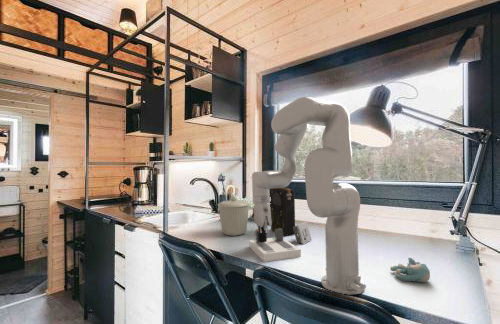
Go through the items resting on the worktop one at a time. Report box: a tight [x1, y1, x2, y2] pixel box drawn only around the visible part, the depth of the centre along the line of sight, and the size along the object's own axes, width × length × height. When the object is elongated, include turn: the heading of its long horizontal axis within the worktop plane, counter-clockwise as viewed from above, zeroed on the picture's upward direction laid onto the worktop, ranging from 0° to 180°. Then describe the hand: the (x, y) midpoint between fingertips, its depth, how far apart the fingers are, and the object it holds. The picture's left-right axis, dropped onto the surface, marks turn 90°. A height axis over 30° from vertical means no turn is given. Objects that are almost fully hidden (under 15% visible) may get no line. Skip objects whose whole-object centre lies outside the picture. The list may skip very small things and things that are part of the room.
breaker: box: [274, 228, 284, 241], centre depth 119 cm, size 2×3×5 cm, turn 107°
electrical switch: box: [293, 221, 312, 245], centre depth 128 cm, size 9×5×9 cm, turn 141°
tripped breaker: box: [255, 228, 259, 242], centre depth 117 cm, size 2×3×6 cm, turn 107°
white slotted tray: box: [248, 237, 302, 263], centre depth 114 cm, size 20×16×3 cm
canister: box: [217, 195, 251, 237], centre depth 145 cm, size 18×18×21 cm
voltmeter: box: [269, 187, 296, 237], centre depth 145 cm, size 16×9×25 cm, turn 25°
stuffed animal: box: [389, 257, 431, 283], centre depth 85 cm, size 11×7×12 cm
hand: (262, 241), depth 113 cm, fingers closed
